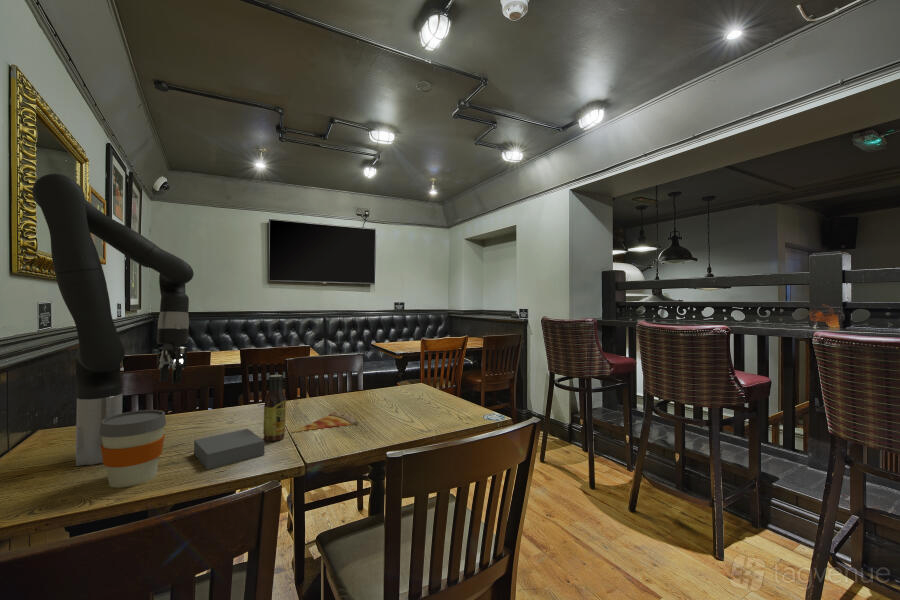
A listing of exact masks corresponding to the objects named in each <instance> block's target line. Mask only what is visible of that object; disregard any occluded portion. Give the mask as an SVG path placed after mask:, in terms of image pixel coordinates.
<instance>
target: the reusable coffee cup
mask: <svg viewBox="0 0 900 600" xmlns="http://www.w3.org/2000/svg"><path fill="white" fill-rule="evenodd" d="M166 425H167V420H166V412H165V411H163V410H159V409H143V410H133V411H127V412H122V413H121V414H117V415H113V416H110V417H107V418H105V419H103V420H102V421H101V426H100V433H99V435H101V436H102V443H103V444H102V445H101V452H102V458H103V463H102V464H103V466H105V468H106V472H107V479H108V486H109V487H112V488H128V487H132V486H133V487H134V486H137V485H140V484H143V483H146V482H148V481H150V480H152V479H153V478H155V477H156V476H157V473H158V468H159V466H158V465H159V460H160V456H161V455H162V453H163V448H164V441H165V435H166V434H164V430H165V426H166Z"/></svg>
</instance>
